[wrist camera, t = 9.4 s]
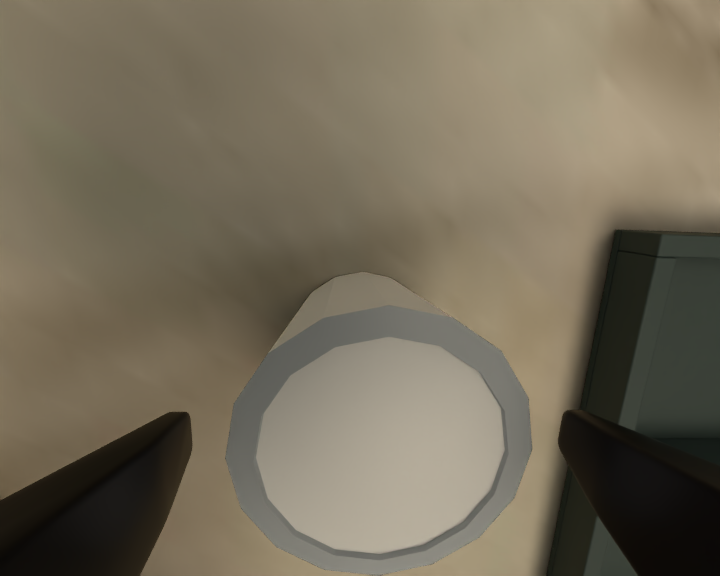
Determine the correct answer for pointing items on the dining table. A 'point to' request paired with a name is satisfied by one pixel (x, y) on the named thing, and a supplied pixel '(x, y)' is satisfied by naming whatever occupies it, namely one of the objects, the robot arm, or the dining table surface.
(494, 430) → the shot glass
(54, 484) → the robot arm
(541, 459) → the dining table surface
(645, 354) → the divided green tray
